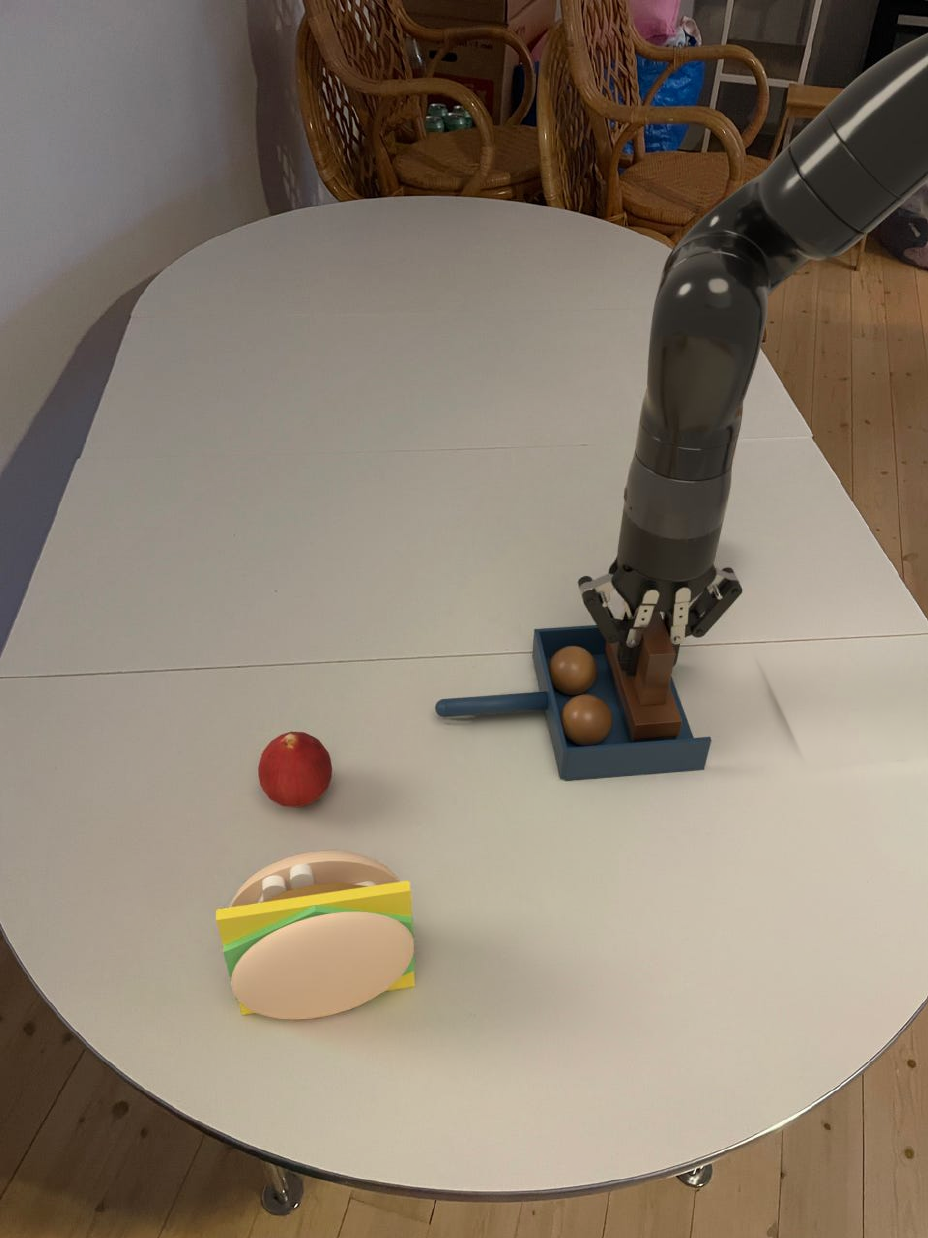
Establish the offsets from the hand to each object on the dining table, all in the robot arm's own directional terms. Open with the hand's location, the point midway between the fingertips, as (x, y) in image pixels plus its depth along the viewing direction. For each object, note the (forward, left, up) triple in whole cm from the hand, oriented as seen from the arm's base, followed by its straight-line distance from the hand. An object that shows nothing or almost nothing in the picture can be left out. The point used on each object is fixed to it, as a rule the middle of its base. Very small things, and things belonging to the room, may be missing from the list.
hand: (645, 667), depth 90 cm
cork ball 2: (+5, +3, -3) cm, 7 cm away
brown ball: (+6, -3, -3) cm, 7 cm away
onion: (+30, +7, -5) cm, 31 cm away
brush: (0, 0, -4) cm, 4 cm away
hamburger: (+28, +23, -5) cm, 37 cm away
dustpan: (+7, 0, -5) cm, 9 cm away
